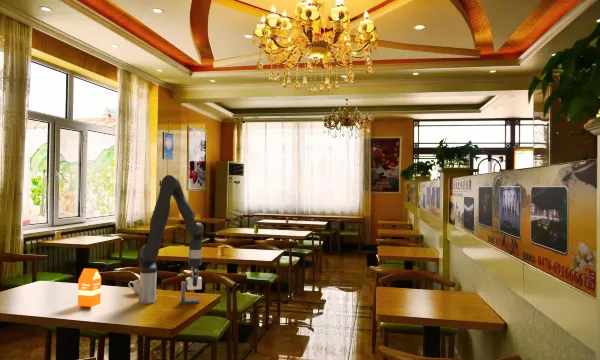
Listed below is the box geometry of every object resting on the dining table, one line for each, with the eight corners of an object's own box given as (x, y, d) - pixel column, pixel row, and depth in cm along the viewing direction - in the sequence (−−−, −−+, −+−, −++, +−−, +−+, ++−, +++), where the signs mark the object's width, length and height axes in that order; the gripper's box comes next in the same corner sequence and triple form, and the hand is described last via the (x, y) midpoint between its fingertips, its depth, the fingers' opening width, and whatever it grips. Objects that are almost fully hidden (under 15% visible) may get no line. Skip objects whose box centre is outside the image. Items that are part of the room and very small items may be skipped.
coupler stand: (181, 304, 243) (181, 283, 243) (180, 300, 251) (181, 280, 251) (201, 303, 247) (202, 282, 247) (200, 299, 254) (201, 279, 254)
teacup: (154, 291, 271) (154, 279, 271) (146, 296, 260) (146, 282, 260) (133, 290, 272) (133, 278, 273) (124, 295, 262) (125, 281, 262)
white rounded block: (200, 286, 253) (200, 276, 253) (201, 289, 248) (201, 278, 248) (185, 287, 251) (185, 277, 251) (185, 289, 245) (186, 279, 245)
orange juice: (91, 306, 234) (92, 270, 235) (77, 305, 236) (78, 269, 237) (100, 303, 242) (101, 267, 243) (87, 302, 244) (88, 267, 244)
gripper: (202, 258, 244) (202, 287, 244) (200, 254, 258) (199, 281, 257) (189, 259, 242) (188, 287, 241) (187, 255, 255) (187, 282, 255)
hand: (194, 284), depth 249 cm, fingers open, 8 cm apart
